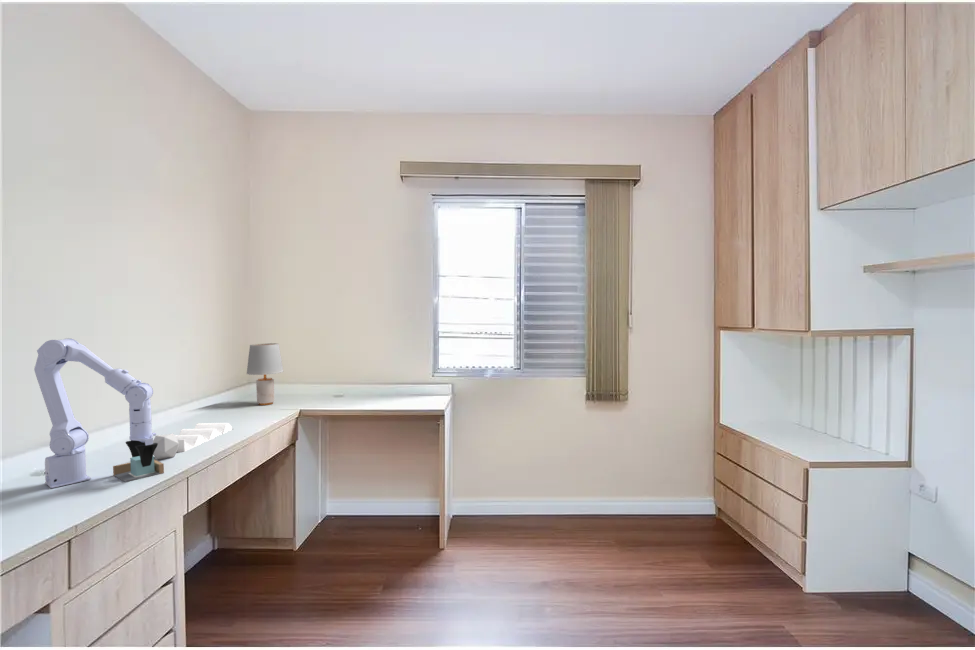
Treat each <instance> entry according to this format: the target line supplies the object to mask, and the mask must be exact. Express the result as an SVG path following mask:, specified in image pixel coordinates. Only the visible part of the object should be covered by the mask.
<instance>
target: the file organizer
mask: <svg viewBox="0 0 975 650" xmlns="http://www.w3.org/2000/svg"><path fill="white" fill-rule="evenodd" d="M233 430H234V428H233V427H232V425H231V424H230V423H229V422H209V423H208V422H206V423H205V422H203V423H202V422H201V423H196V425H195V427H194V428H182V429H181V431H180V432H179V434H174V436H175V437H176V439H177V441H178V443H179V447H178V449H177V451H176V453H186V452H187V451H189V450H191V449H194V448H196V447H198V446H200V445H202V443H203V444H204V442H205V443H207V442H209V441H210V440H213V439H216V438H217V436H218V437H220V436H222V435H224V434H226V433H228V431H229V432H231V431H233ZM219 435H220V436H219ZM215 437H216V438H215Z"/></svg>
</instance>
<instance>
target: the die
mask: <svg viewBox="0 0 975 650" xmlns="http://www.w3.org/2000/svg"><path fill="white" fill-rule="evenodd" d="M174 435H175V434H174V433H165V434H160V435H159V434H158V435H157V434H156V435H155V436H154V438H153V443H158V445H157V447H156V449H155V451H154V454H153V456H154V459H155V460H157V461H159V460H164V459H172V458H174V457H175V456H176V454H177V452H176V451H177V449H178V447H179V443H178V441H177V439H176V437H175V436H174Z"/></svg>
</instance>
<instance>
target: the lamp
mask: <svg viewBox="0 0 975 650" xmlns="http://www.w3.org/2000/svg"><path fill="white" fill-rule="evenodd" d="M247 358H248V359H247V365H246V366H247V368H246V375H249V376H258V375H259V376H260V375H263V377H259V378H257V379H256V380H255V386H256V390H255V391H256V403H257V404H258V406H270V405H271V406H272V404H274V403H275V379H274V378H273V377H267V375H275V374H281V373H283V372H284V366H283V360H282V356H281V350H280V344H279V343H272V342H271V343H254V344H250V345H249V350H248V357H247Z"/></svg>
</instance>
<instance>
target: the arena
mask: <svg viewBox="0 0 975 650" xmlns="http://www.w3.org/2000/svg"><path fill="white" fill-rule="evenodd" d="M164 465H165V464H164V463H163V462H160V461H159V460H156V459H154V470H155V472H153V473H149V474H144V475H140V476H135V475H133V474H131V464H130V462H125V463H121V464H117V465H113V466H112V471H113V473H112V475H113V476H114V477H115V478H117V479H118V480H120V481H122V482H124V483H128V482H132V481H135V480H139V479H140V480H141V479H144V478H149V477H153V476H158V475H162V474H164V473H165V469H164V467H165V466H164Z"/></svg>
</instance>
